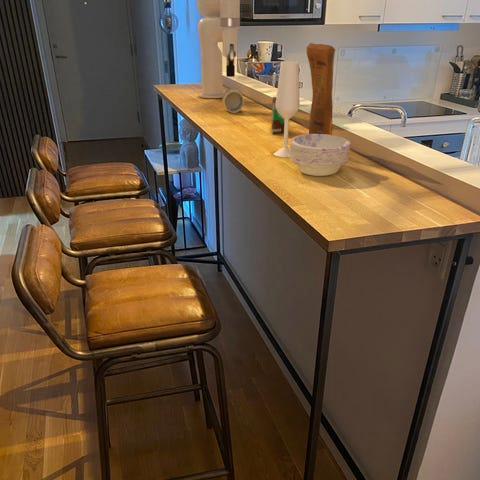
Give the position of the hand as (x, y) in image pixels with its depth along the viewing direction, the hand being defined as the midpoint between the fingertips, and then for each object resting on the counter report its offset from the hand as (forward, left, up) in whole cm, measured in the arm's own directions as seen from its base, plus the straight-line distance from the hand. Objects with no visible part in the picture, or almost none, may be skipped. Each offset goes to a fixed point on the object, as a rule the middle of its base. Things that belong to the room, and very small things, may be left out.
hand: (230, 76), depth 202 cm
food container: (+46, +12, -12) cm, 49 cm away
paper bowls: (+94, +12, -12) cm, 96 cm away
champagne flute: (+76, +7, -12) cm, 77 cm away
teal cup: (+5, 0, -8) cm, 9 cm away
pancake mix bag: (+71, +18, -12) cm, 74 cm away
